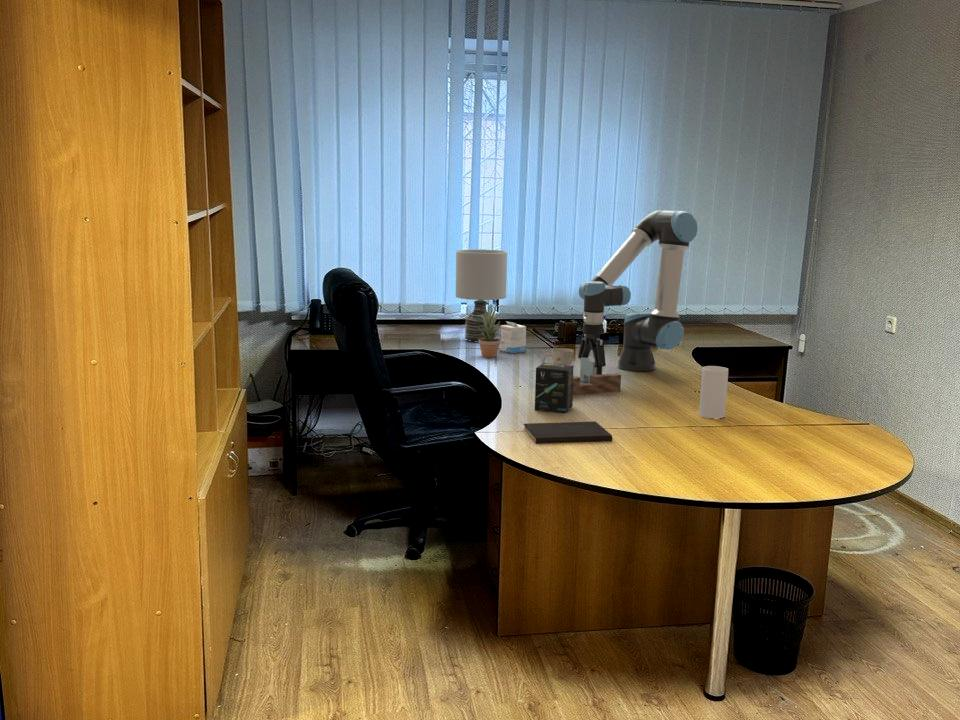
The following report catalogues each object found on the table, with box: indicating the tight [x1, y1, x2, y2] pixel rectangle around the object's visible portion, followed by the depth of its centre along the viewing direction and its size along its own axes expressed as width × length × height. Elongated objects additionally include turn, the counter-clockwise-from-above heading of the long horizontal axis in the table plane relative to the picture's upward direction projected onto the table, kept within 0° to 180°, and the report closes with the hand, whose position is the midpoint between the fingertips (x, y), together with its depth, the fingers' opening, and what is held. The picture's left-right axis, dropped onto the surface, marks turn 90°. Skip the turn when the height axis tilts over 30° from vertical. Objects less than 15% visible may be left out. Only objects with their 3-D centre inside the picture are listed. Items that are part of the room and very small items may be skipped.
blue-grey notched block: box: [579, 356, 596, 383], centre depth 336 cm, size 4×10×9 cm, turn 21°
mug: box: [541, 347, 575, 365], centre depth 349 cm, size 8×13×10 cm, turn 78°
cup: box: [698, 365, 729, 419], centre depth 289 cm, size 8×8×16 cm
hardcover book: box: [523, 421, 613, 445], centre depth 265 cm, size 16×23×2 cm
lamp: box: [455, 248, 508, 341], centre depth 420 cm, size 24×24×42 cm
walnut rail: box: [573, 372, 622, 396], centre depth 320 cm, size 28×3×6 cm, turn 111°
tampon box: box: [534, 362, 574, 414], centre depth 295 cm, size 11×9×15 cm
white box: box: [500, 320, 527, 354], centre depth 396 cm, size 9×8×13 cm
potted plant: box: [477, 300, 501, 358], centre depth 382 cm, size 10×10×25 cm
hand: (590, 380), depth 336 cm, fingers closed on blue-grey notched block, 10 cm apart
